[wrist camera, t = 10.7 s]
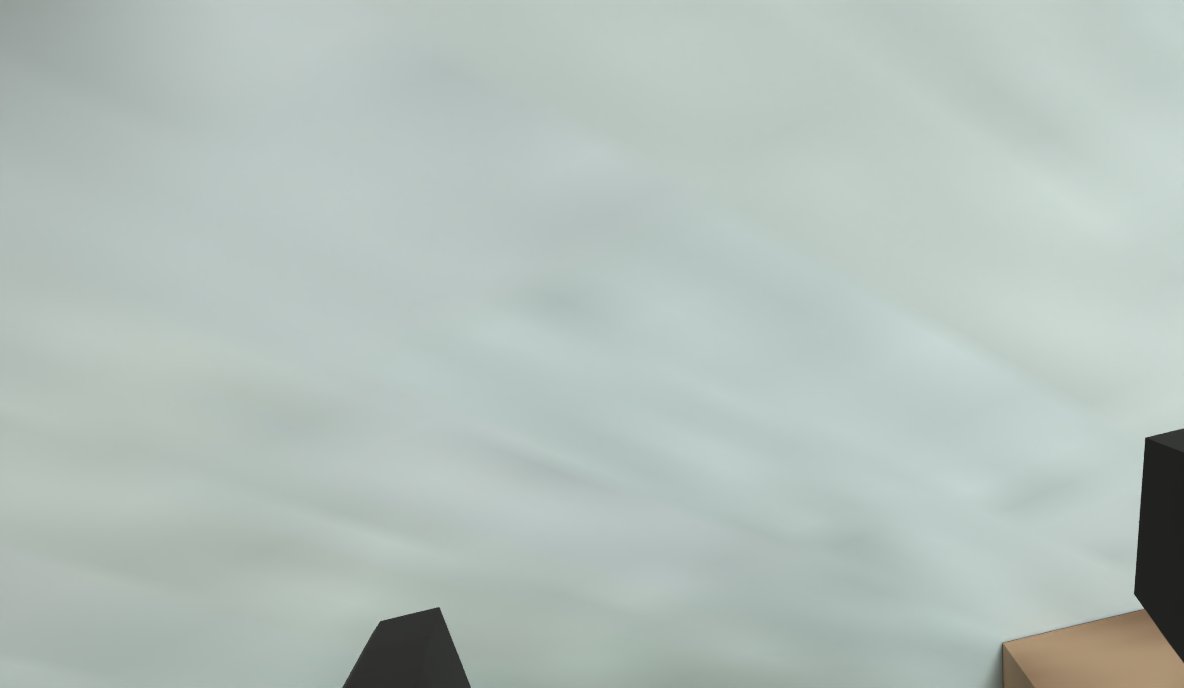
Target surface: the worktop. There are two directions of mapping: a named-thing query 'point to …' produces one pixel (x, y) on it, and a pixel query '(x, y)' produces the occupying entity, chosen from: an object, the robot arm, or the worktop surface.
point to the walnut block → (1095, 656)
